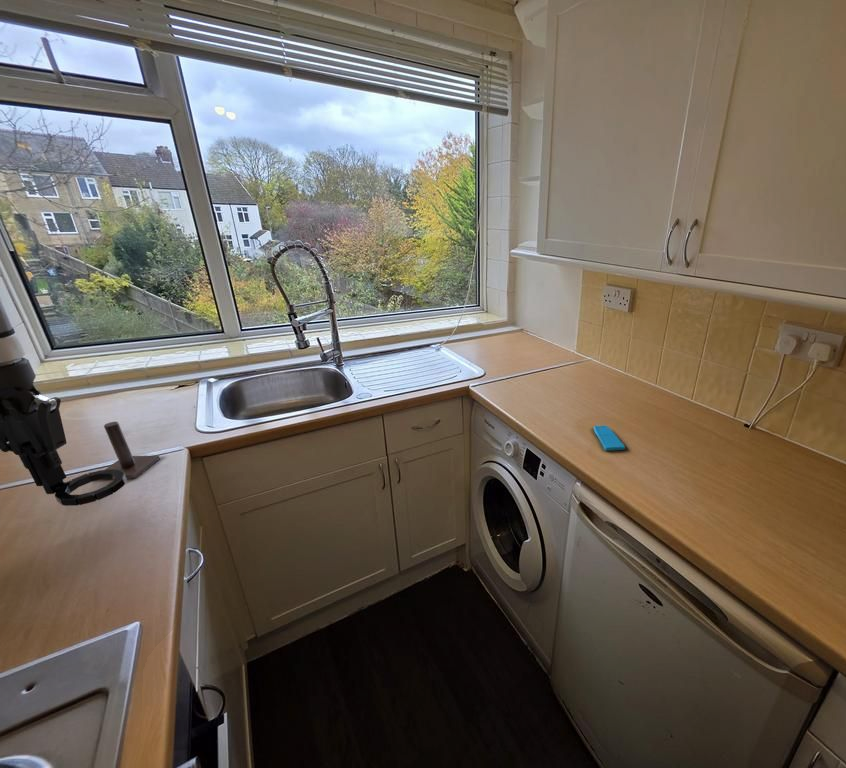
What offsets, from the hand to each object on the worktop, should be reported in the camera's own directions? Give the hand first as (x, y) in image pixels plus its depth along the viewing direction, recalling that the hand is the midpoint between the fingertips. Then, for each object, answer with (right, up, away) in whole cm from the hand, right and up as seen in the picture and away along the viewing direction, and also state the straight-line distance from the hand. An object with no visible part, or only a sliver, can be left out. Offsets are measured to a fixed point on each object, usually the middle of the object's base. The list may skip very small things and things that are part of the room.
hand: (52, 481), depth 75 cm
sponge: (+112, +3, +37) cm, 118 cm away
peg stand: (-5, -2, +20) cm, 21 cm away
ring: (+5, -2, +1) cm, 6 cm away
